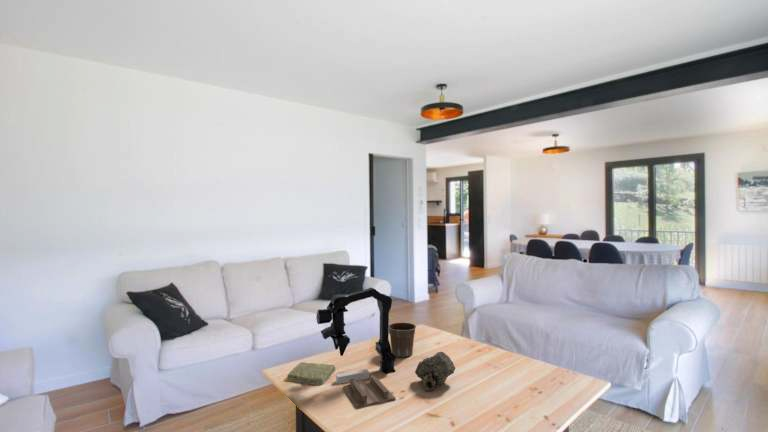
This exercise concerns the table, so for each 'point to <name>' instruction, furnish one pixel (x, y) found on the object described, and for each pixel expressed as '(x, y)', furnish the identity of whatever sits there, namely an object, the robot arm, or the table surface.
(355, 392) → the walnut rack
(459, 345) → the table surface
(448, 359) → the rock
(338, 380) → the light gray rectangular bar
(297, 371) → the decorative tile
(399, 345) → the plant pot
